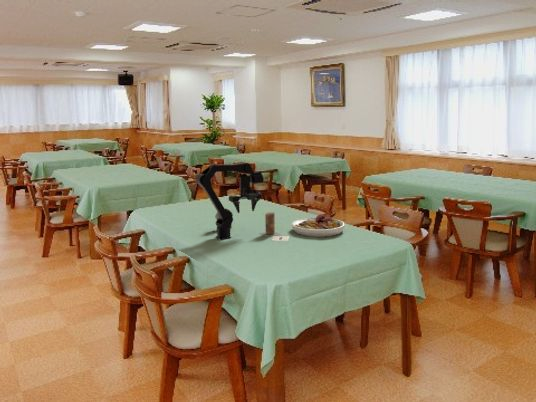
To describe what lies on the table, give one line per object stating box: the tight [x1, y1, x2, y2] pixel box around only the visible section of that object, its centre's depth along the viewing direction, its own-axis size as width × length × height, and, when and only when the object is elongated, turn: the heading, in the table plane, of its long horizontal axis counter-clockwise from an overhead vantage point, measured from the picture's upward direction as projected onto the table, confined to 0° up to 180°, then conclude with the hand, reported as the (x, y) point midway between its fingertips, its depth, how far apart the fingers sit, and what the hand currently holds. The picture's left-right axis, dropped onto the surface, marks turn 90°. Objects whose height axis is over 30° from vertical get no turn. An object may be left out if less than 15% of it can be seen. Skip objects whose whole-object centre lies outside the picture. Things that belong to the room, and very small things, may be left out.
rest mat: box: [259, 231, 282, 238], centre depth 278 cm, size 9×9×1 cm
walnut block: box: [264, 211, 276, 235], centre depth 277 cm, size 5×5×12 cm
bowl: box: [291, 213, 345, 238], centre depth 284 cm, size 30×30×8 cm
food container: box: [214, 211, 234, 230], centre depth 292 cm, size 12×6×10 cm, turn 141°
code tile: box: [271, 235, 290, 242], centre depth 269 cm, size 9×9×1 cm
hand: (245, 212), depth 277 cm, fingers open, 9 cm apart
